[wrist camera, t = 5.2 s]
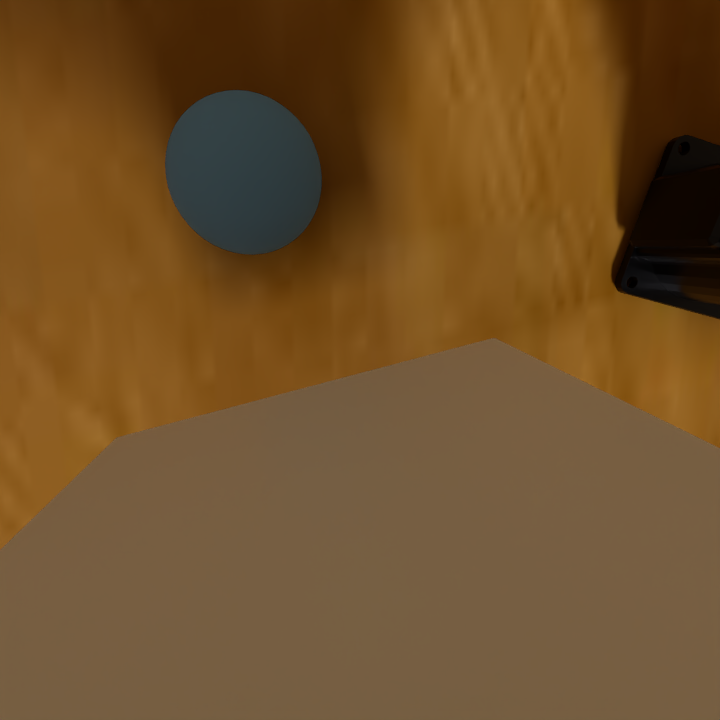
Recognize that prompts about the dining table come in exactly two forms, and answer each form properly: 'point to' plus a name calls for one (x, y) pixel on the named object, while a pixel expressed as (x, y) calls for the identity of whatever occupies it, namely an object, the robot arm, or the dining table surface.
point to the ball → (243, 172)
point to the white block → (378, 559)
